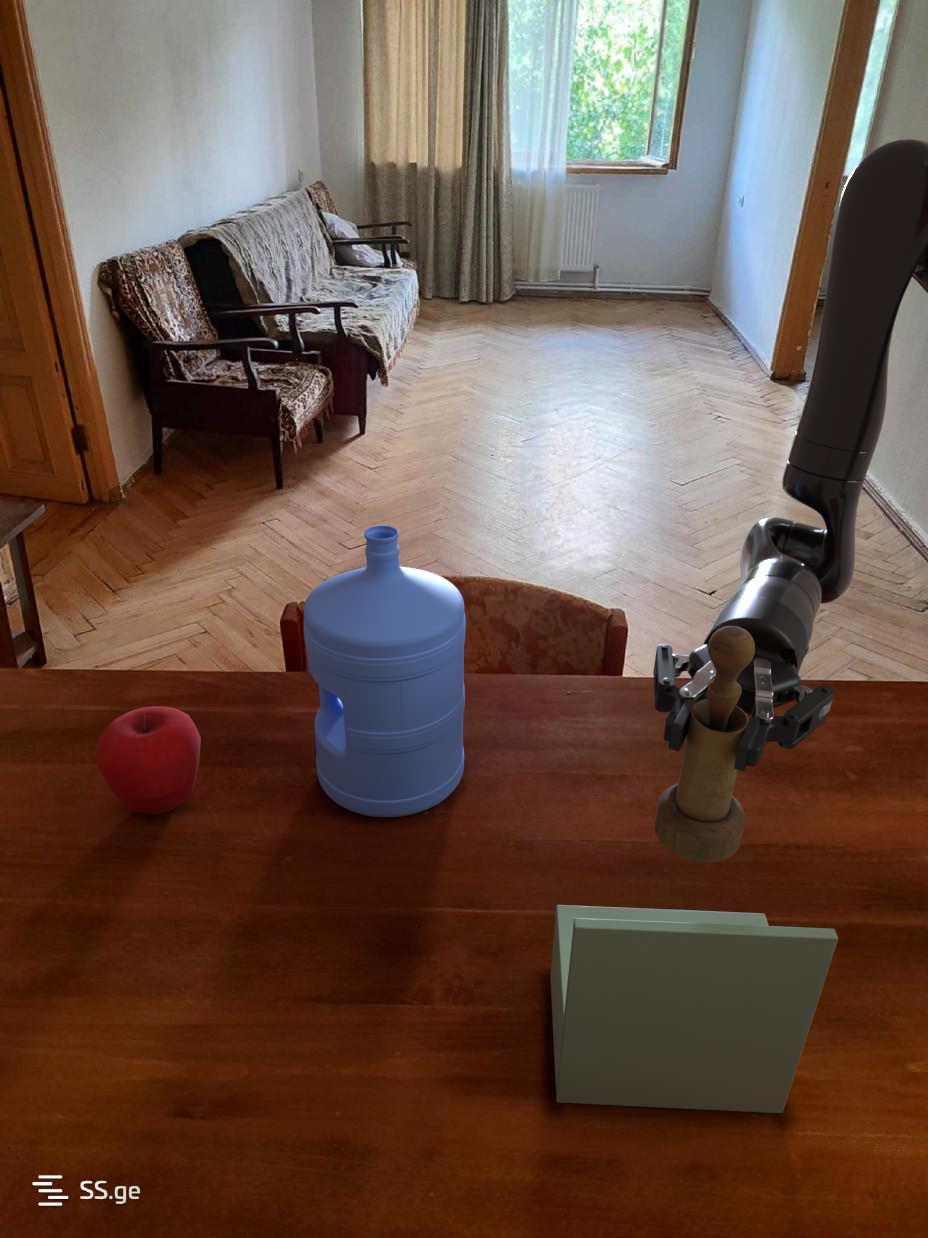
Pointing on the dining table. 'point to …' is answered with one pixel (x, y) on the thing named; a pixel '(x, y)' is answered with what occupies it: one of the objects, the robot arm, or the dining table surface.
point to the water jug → (387, 683)
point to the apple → (150, 758)
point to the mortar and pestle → (710, 762)
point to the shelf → (682, 1006)
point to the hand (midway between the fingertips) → (708, 749)
